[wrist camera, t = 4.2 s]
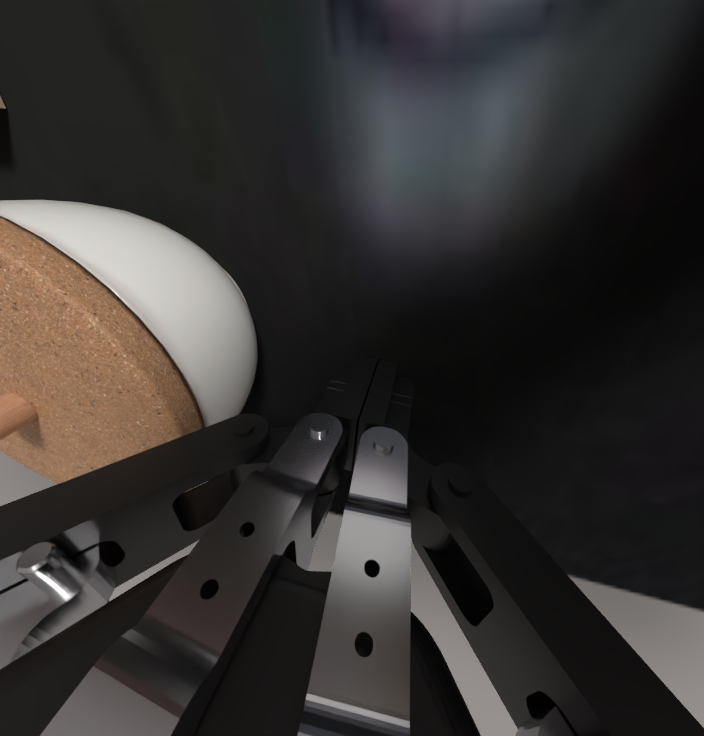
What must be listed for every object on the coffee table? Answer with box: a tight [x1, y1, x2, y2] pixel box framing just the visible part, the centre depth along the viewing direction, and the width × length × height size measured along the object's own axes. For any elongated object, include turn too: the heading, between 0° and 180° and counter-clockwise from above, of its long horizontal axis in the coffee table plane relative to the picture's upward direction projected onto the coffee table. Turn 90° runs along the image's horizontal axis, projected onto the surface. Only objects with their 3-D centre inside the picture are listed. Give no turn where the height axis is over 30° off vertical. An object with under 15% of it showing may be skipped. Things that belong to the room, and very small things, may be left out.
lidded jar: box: [0, 200, 258, 493], centre depth 11 cm, size 11×11×9 cm
